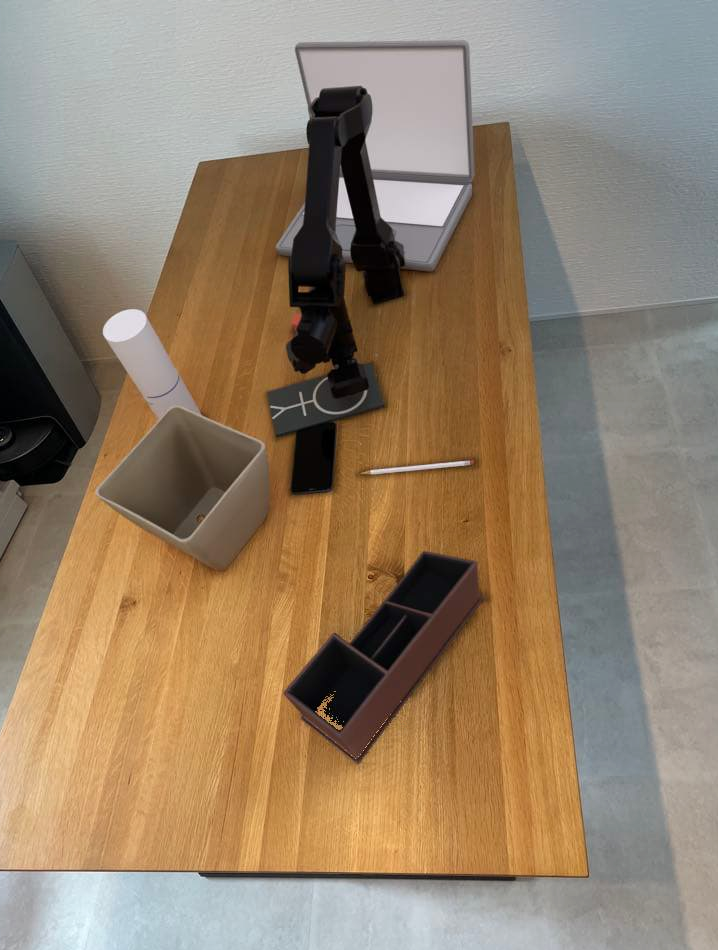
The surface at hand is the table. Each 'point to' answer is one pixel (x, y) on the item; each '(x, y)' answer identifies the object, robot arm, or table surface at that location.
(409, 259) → the laptop
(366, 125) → the robot arm
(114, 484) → the flower pot
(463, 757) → the table surface
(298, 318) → the dot
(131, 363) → the cylindrical container
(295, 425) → the board
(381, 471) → the pencil
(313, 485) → the smartphone
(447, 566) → the desk organizer
